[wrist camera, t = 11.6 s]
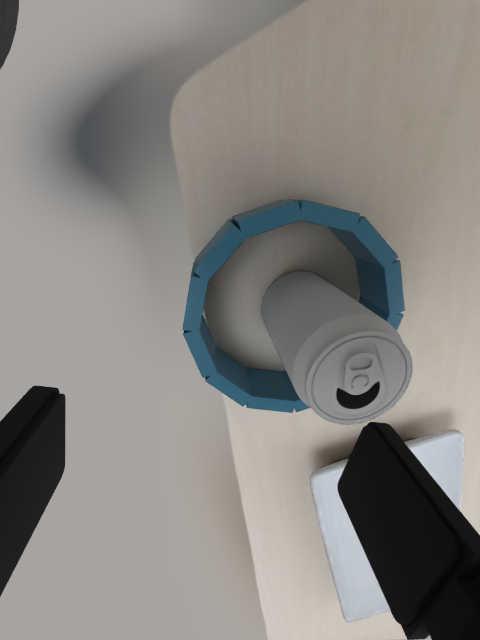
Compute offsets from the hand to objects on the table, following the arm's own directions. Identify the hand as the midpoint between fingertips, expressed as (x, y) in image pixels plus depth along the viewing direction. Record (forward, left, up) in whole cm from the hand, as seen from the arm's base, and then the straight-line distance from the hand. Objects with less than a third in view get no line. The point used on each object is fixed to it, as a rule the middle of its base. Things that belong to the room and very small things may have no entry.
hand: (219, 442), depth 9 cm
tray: (+38, +1, -17) cm, 42 cm away
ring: (+5, +5, -17) cm, 18 cm away
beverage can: (+5, +5, -17) cm, 19 cm away
